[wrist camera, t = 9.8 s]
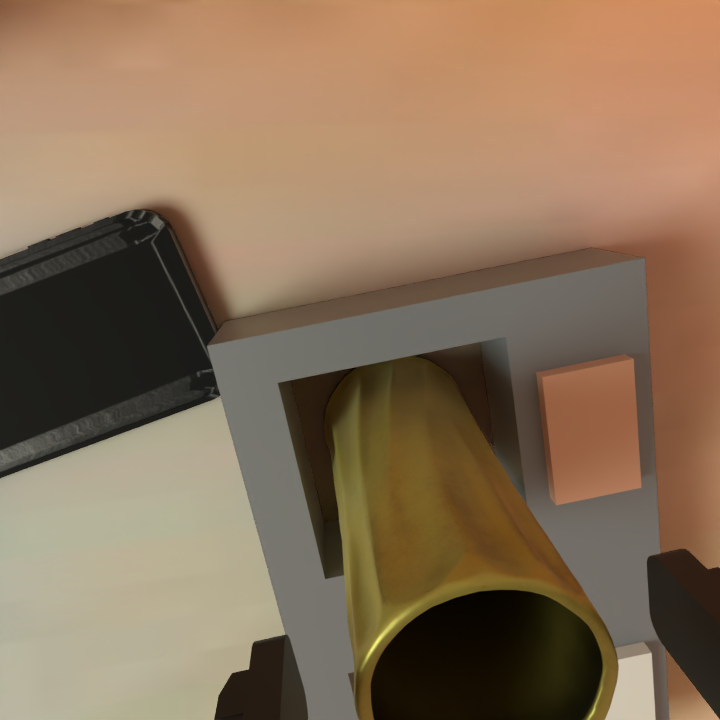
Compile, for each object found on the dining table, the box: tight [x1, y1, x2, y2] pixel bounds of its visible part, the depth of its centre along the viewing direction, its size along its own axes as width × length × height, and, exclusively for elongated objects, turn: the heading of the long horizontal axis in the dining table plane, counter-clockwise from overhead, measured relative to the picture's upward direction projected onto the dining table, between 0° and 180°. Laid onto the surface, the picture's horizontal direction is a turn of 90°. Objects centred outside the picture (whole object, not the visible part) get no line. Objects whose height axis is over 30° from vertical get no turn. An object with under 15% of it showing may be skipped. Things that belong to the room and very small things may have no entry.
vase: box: [325, 356, 619, 720], centre depth 18 cm, size 6×6×14 cm
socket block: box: [207, 248, 669, 720], centre depth 25 cm, size 24×15×5 cm, turn 11°
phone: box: [0, 209, 220, 478], centre depth 23 cm, size 8×1×15 cm
